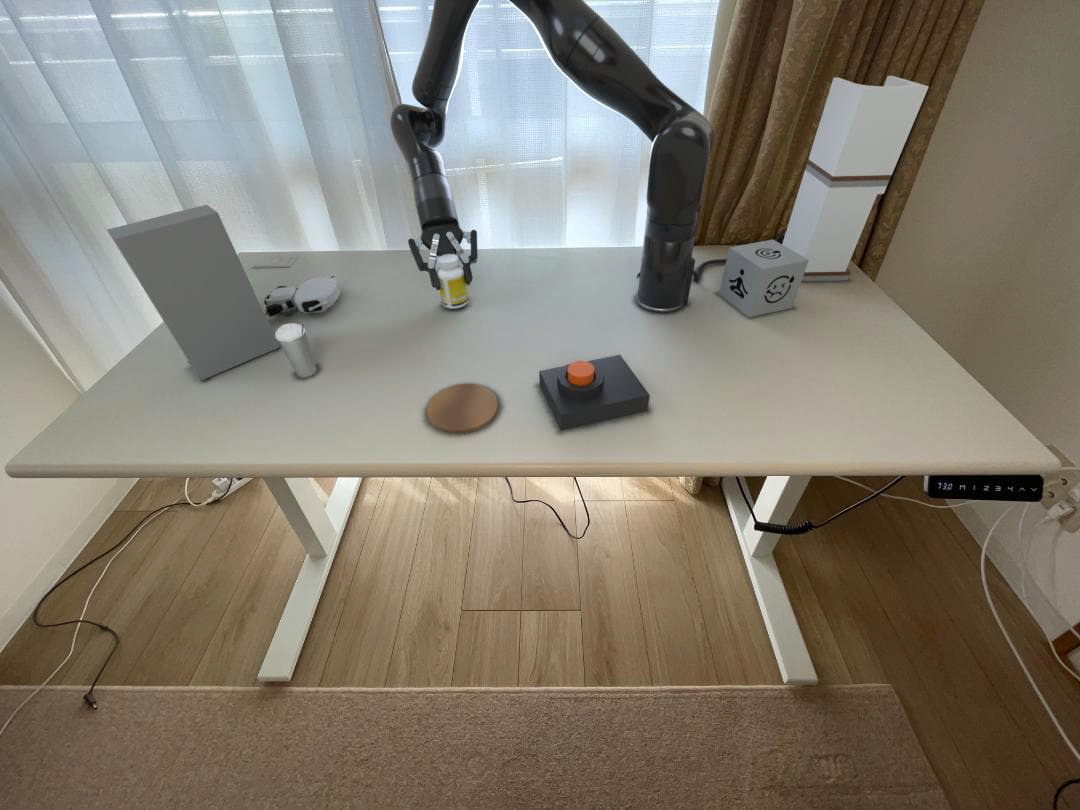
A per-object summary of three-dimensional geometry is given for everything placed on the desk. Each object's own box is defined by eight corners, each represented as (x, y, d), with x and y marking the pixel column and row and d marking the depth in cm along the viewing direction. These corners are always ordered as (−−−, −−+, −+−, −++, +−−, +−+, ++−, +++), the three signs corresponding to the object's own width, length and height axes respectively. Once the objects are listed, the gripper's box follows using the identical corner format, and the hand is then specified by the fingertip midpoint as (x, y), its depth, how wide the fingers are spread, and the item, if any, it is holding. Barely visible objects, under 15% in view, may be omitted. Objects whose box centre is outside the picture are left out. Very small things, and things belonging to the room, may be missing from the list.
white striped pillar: (847, 280, 104) (928, 86, 81) (796, 281, 104) (863, 88, 81) (824, 257, 113) (892, 75, 90) (777, 258, 113) (833, 77, 90)
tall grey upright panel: (268, 335, 94) (205, 203, 78) (281, 348, 91) (218, 212, 74) (190, 367, 87) (104, 228, 71) (201, 381, 84) (113, 239, 67)
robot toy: (262, 330, 97) (337, 318, 98) (251, 310, 94) (328, 298, 95) (279, 299, 107) (347, 289, 107) (269, 280, 104) (339, 270, 104)
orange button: (588, 367, 76) (588, 358, 75) (597, 383, 73) (598, 373, 72) (563, 372, 75) (564, 363, 74) (572, 388, 72) (572, 379, 71)
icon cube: (759, 285, 104) (773, 239, 97) (791, 308, 96) (808, 260, 90) (718, 293, 101) (729, 247, 95) (748, 317, 94) (762, 269, 88)
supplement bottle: (472, 298, 102) (466, 253, 96) (461, 311, 99) (454, 265, 92) (449, 294, 104) (442, 250, 97) (437, 307, 100) (428, 262, 94)
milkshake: (315, 381, 83) (294, 331, 76) (287, 378, 84) (264, 328, 77) (329, 365, 86) (310, 316, 80) (302, 362, 87) (281, 313, 80)
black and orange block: (618, 369, 83) (621, 345, 80) (647, 410, 75) (651, 385, 72) (539, 386, 80) (538, 361, 77) (560, 430, 72) (560, 405, 69)
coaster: (489, 381, 82) (489, 378, 81) (505, 424, 74) (504, 421, 73) (423, 394, 80) (423, 391, 79) (432, 440, 72) (431, 437, 71)
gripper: (396, 200, 93) (415, 286, 92) (471, 190, 95) (490, 274, 95) (400, 218, 100) (418, 298, 99) (470, 209, 103) (487, 286, 102)
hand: (453, 286), depth 97 cm, fingers closed on supplement bottle, 5 cm apart
